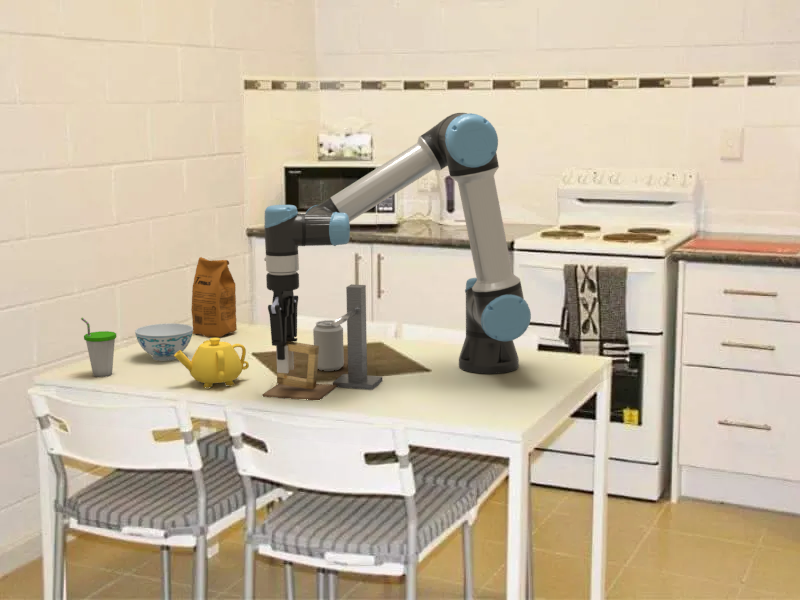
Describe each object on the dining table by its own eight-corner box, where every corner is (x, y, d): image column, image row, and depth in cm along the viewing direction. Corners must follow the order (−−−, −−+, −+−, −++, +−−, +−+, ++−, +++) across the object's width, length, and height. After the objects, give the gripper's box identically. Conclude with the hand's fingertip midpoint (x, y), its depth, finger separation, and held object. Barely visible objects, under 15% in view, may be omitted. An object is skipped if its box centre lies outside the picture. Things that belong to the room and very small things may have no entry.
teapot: (207, 373, 290) (205, 329, 288) (254, 378, 285) (252, 334, 283) (173, 387, 277) (171, 342, 275) (222, 393, 272) (220, 347, 270)
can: (339, 372, 289) (338, 325, 287) (310, 371, 291) (309, 324, 289) (347, 365, 297) (346, 319, 294) (318, 364, 298) (317, 318, 296)
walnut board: (336, 387, 276) (336, 384, 275) (319, 400, 264) (319, 398, 264) (281, 383, 279) (281, 381, 279) (262, 396, 268) (262, 394, 268)
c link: (316, 386, 272) (319, 345, 270) (312, 389, 270) (315, 348, 267) (280, 380, 274) (283, 340, 272) (276, 383, 272) (279, 342, 270)
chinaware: (126, 363, 301) (124, 334, 300) (152, 350, 315) (150, 322, 314) (179, 366, 298) (178, 336, 296) (203, 352, 312) (202, 324, 310)
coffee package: (211, 327, 342) (208, 254, 338) (242, 333, 335) (239, 258, 331) (186, 334, 335) (183, 258, 330) (217, 339, 327) (214, 262, 323)
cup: (124, 371, 292) (120, 313, 290) (108, 379, 285) (105, 320, 282) (96, 370, 294) (93, 312, 292) (80, 377, 287) (76, 318, 284)
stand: (382, 381, 281) (381, 283, 276) (356, 403, 262) (354, 299, 257) (343, 378, 283) (341, 282, 279) (315, 400, 265) (312, 297, 260)
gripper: (280, 266, 276) (283, 361, 280) (254, 277, 261) (257, 378, 266) (309, 267, 274) (312, 363, 278) (285, 278, 259) (288, 380, 264)
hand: (285, 370), depth 272 cm, fingers open, 2 cm apart
